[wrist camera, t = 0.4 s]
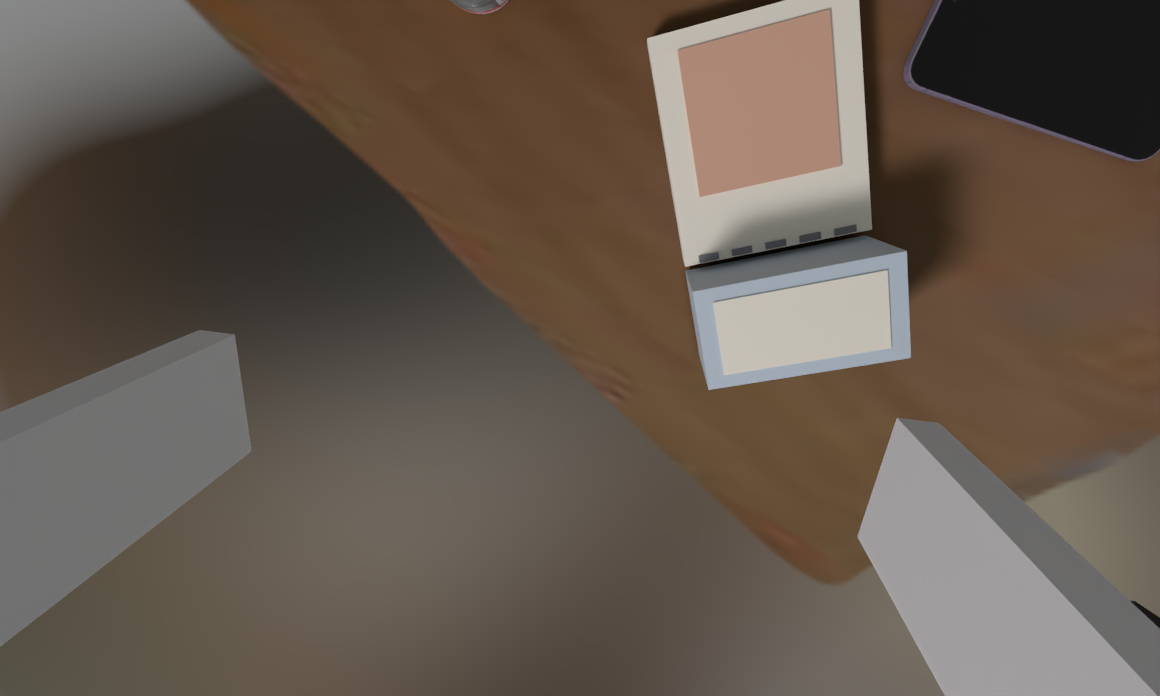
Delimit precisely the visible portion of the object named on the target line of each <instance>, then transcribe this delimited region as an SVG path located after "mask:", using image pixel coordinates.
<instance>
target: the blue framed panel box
mask: <svg viewBox="0 0 1160 696" xmlns="http://www.w3.org/2000/svg"><path fill="white" fill-rule="evenodd" d="M685 272H686V278H687V284H688V290H689V296H690V302H691V308H692V314H693V320H694V326H695V332H696V338H697V344H698V350H699V356H700V359H701V363H702V367H703V371H704V374H705V378H706V382H707V385H708V389H709V390H711V389H717V388H724V387H730V386H736V385H743V384H749V383H755V382H762V381H768V380H774V379H781V378H787V377H793V376H800V375H806V374H812V373H818V372H825V371H831V370H837V369H844V368H850V367H856V366H863V365H869V364H875V363H882V362H888V361H894V360H901V359H907V358H911V347H910V321H909V294H908V268H907V251H906V250H903V249H900V248H898V247H895V246H893V245H890V244H887V243H885V242H882V241H879V240H877V239H874V238H871V237H869V236H866V235H863V236H858V237H853V238H848V239H843V240H838V241H832V242H827V243H822V244H817V245H812V246H807V247H802V248H797V249H792V250H787V251H782V252H777V253H772V254H767V255H762V256H757V257H752V258H747V259H742V260H737V261H731V262H726V263H721V264H716V265H711V266H706V267H701V268H696V269H691V270H686V271H685Z"/></svg>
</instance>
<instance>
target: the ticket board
mask: <svg viewBox="0 0 1160 696" xmlns="http://www.w3.org/2000/svg"><path fill="white" fill-rule="evenodd" d="M647 47H648V53H649V59H650V65H651V70H652V76H653V82H654V88H655V94H656V100H657V106H658V112H659V118H660V124H661V130H662V136H663V142H664V148H665V154H666V160H667V166H668V172H669V178H670V184H671V190H672V196H673V202H674V208H675V214H676V220H677V226H678V231H679V237H680V243H681V249H682V255H683V261H684V265H685V267H687V266H692V265H697V264H702V263H707V262H712V261H717V260H722V259H727V258H732V257H737V256H742V255H747V254H752V253H757V252H762V251H767V250H772V249H777V248H782V247H787V246H792V245H797V244H802V243H807V242H812V241H818V240H823V239H828V238H833V237H838V236H843V235H848V234H853V233H858V232H863V231H868V230H872V218H871V200H870V183H869V165H868V148H867V130H866V113H865V95H864V78H863V60H862V43H861V25H860V8H859V0H784V1H781V2H777V3H773V4H770V5H766V6H762V7H759V8H755V9H752V10H748V11H744V12H741V13H737V14H734V15H730V16H726V17H723V18H719V19H715V20H712V21H708V22H705V23H701V24H697V25H694V26H690V27H687V28H683V29H679V30H676V31H672V32H668V33H665V34H661V35H658V36H654V37H650V38H647Z"/></svg>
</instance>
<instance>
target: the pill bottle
mask: <svg viewBox="0 0 1160 696" xmlns="http://www.w3.org/2000/svg"><path fill="white" fill-rule="evenodd" d="M451 1H452V2H453V3H454V4H455V5H457V6H458V7H460V8H461V9H463V10H465V11H467V12H470V13H474V14H487V13H491V12H494V11H496V10H498V9H500V8H501V7H503V6H504V5H505V4H506V3H507V2H508V1H509V0H451Z"/></svg>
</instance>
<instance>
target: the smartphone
mask: <svg viewBox="0 0 1160 696" xmlns="http://www.w3.org/2000/svg"><path fill="white" fill-rule="evenodd" d="M903 76H904V80H905V82H906V84H907V85H908V86H909V87H911V88H912V89H914V90H917V91H920V92H923V93H925V94H928V95H931V96H934V97H937V98H940V99H943V100H946V101H949V102H952V103H955V104H958V105H961V106H964V107H967V108H969V109H972V110H976V111H979V112H981V113H984V114H987V115H990V116H993V117H997V118H1000V119H1003V120H1006V121H1009V122H1012V123H1015V124H1018V125H1021V126H1024V127H1027V128H1030V129H1033V130H1036V131H1040V132H1042V133H1045V134H1048V135H1051V136H1054V137H1057V138H1060V139H1063V140H1067V141H1070V142H1073V143H1076V144H1079V145H1082V146H1085V147H1088V148H1091V149H1094V150H1097V151H1100V152H1103V153H1106V154H1109V155H1112V156H1115V157H1118V158H1121V159H1124V160H1128V161H1144V160H1147V159H1149V158H1151V157H1153V156H1154V155H1155V154H1157V153H1158V152H1159V151H1160V0H935V1H934V3H933V5H932V7H931V9H930V11H929V14H928V16H927V18H926V20H925V22H924V24H923V26H922V28H921V31H920V33H919V35H918V37H917V39H916V41H915V43H914V45H913V48H912V50H911V52H910V54H909V56H908V58H907V60H906V63H905V66H904V70H903Z"/></svg>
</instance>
